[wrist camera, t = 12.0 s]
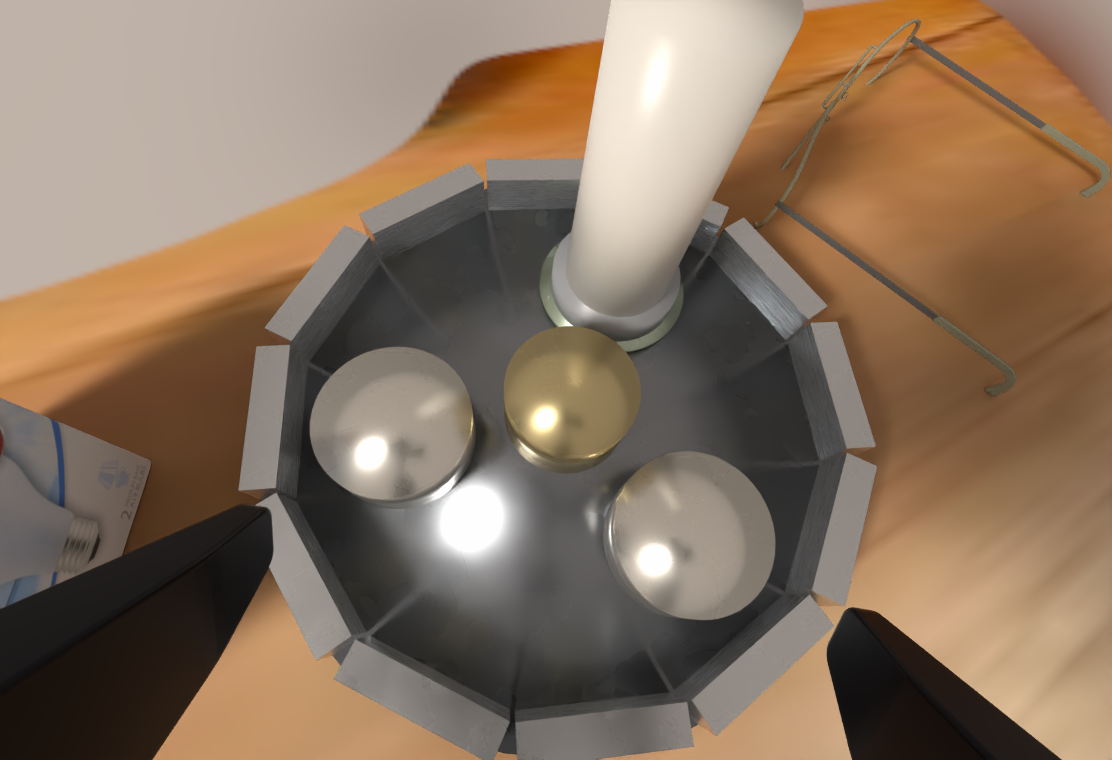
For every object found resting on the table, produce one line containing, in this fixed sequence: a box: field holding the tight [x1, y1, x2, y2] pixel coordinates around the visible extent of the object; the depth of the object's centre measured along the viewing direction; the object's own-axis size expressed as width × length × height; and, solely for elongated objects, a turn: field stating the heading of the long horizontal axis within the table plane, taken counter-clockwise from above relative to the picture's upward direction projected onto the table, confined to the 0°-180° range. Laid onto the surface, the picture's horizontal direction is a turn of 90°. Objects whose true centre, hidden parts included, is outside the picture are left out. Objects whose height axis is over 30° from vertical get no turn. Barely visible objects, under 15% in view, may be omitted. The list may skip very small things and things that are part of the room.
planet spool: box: [551, 0, 804, 342], centre depth 19 cm, size 6×6×13 cm
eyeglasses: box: [755, 19, 1111, 396], centre depth 28 cm, size 16×15×5 cm
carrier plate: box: [238, 159, 877, 760], centre depth 22 cm, size 24×24×4 cm
